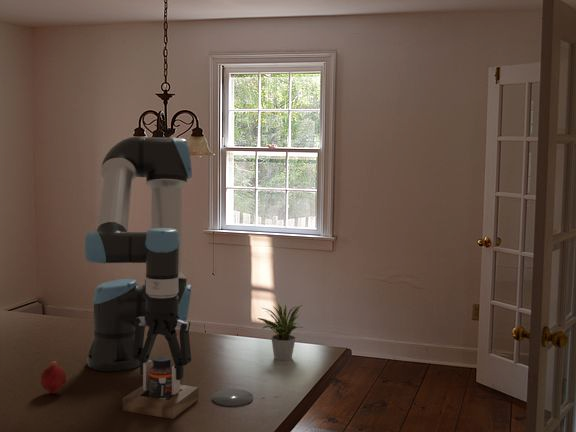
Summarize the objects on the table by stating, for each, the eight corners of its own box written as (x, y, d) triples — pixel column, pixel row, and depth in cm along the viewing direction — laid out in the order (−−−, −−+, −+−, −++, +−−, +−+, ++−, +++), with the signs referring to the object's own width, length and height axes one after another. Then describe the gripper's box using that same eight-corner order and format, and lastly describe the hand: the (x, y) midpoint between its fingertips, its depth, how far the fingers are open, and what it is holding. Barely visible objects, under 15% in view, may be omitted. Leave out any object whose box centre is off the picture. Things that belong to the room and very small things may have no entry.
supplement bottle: (168, 410, 157) (168, 363, 156) (144, 408, 159) (144, 361, 157) (177, 401, 163) (178, 355, 162) (154, 399, 164) (154, 353, 163)
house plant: (281, 346, 211) (282, 295, 209) (317, 356, 202) (318, 302, 200) (250, 357, 200) (251, 302, 198) (286, 367, 191) (288, 310, 189)
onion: (51, 399, 163) (51, 367, 162) (35, 394, 166) (35, 362, 165) (71, 392, 168) (70, 360, 167) (55, 387, 171) (55, 356, 170)
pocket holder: (122, 410, 157) (122, 398, 156) (150, 392, 169) (150, 380, 169) (173, 418, 153) (173, 405, 152) (198, 399, 165) (198, 387, 165)
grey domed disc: (205, 402, 163) (205, 400, 163) (221, 389, 172) (221, 386, 172) (243, 408, 160) (244, 406, 160) (258, 394, 169) (258, 392, 169)
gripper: (116, 294, 158) (116, 390, 160) (193, 301, 152) (192, 401, 154) (133, 288, 165) (133, 380, 167) (207, 295, 159) (206, 390, 161)
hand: (161, 390), depth 161 cm, fingers open, 7 cm apart
